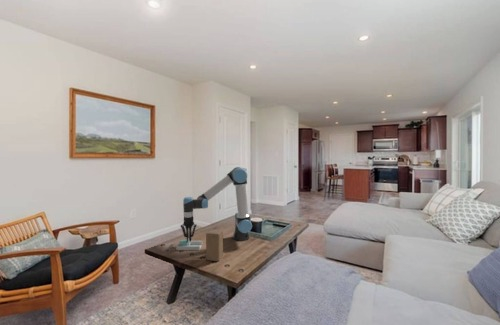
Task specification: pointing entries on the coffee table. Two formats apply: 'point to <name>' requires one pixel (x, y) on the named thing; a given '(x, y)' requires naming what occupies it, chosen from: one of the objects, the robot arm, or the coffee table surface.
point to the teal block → (183, 242)
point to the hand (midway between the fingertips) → (189, 245)
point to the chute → (191, 246)
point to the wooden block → (214, 244)
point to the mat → (169, 247)
